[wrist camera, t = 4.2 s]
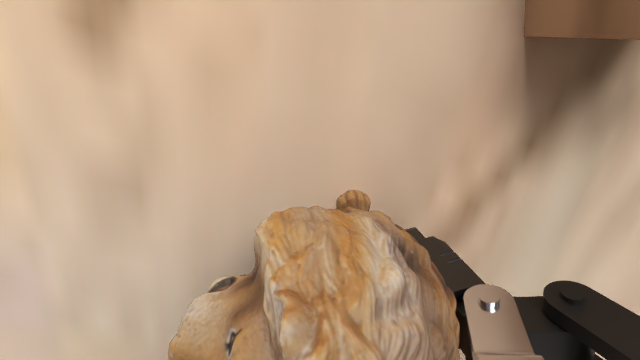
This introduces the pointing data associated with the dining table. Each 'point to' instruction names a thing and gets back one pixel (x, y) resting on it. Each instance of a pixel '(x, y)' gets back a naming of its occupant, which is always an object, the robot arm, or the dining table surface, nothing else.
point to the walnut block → (583, 19)
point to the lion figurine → (326, 294)
